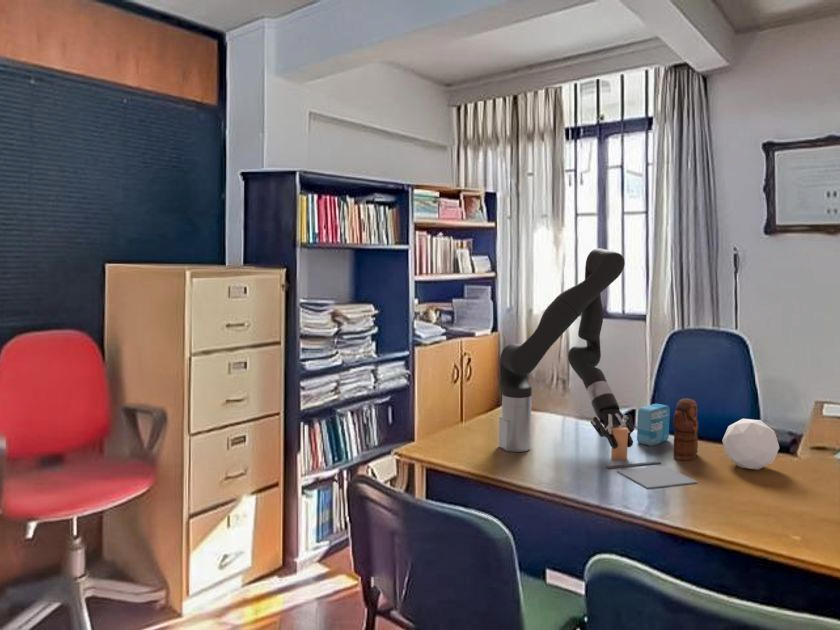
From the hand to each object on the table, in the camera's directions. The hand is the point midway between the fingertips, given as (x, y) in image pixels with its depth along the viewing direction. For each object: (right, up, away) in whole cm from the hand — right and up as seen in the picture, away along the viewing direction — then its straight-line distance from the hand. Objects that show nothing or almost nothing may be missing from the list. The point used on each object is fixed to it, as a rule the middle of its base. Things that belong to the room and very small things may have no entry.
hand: (623, 446), depth 200 cm
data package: (+16, -3, +20) cm, 26 cm away
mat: (+4, -5, -13) cm, 15 cm away
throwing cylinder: (-1, -4, +2) cm, 5 cm away
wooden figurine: (+21, -4, +5) cm, 22 cm away
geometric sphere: (+35, -5, -5) cm, 36 cm away
